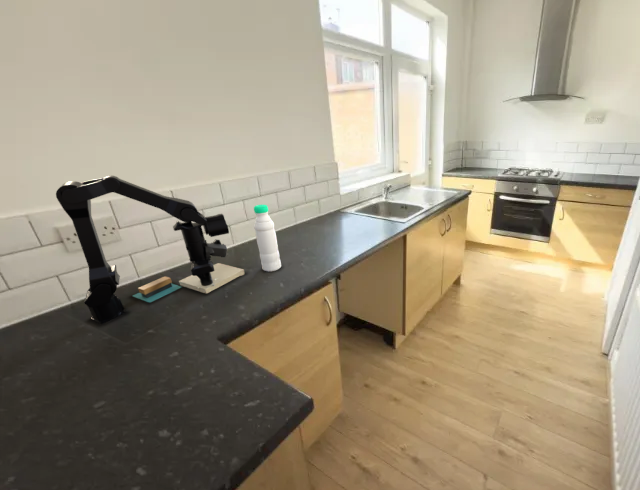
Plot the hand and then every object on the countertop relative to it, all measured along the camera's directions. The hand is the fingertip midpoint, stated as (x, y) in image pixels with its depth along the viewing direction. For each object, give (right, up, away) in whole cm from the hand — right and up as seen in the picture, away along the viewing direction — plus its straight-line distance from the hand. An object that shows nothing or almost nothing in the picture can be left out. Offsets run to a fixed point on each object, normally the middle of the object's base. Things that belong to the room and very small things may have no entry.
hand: (206, 282), depth 109 cm
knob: (0, 0, 0) cm, 0 cm away
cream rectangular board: (-1, 0, +7) cm, 7 cm away
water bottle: (+17, +4, +15) cm, 23 cm away
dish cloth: (-16, -3, -1) cm, 17 cm away
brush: (-16, -3, -1) cm, 17 cm away
